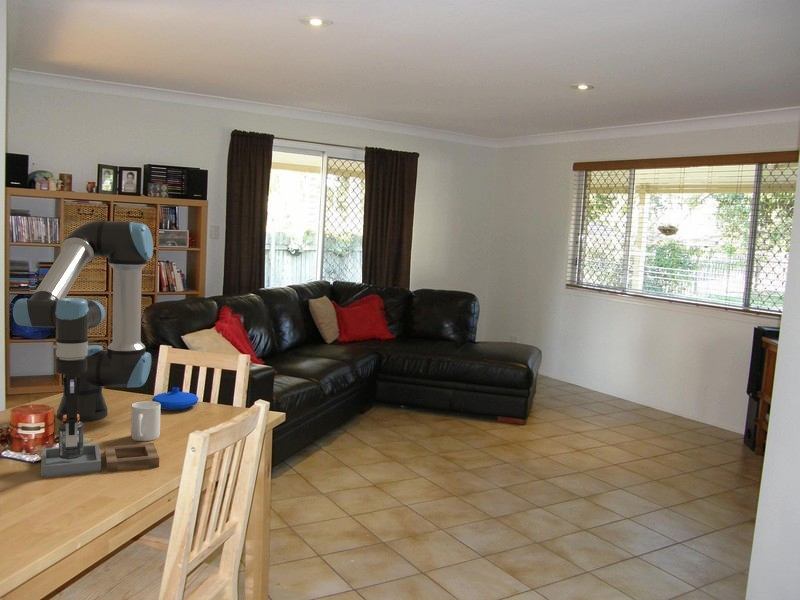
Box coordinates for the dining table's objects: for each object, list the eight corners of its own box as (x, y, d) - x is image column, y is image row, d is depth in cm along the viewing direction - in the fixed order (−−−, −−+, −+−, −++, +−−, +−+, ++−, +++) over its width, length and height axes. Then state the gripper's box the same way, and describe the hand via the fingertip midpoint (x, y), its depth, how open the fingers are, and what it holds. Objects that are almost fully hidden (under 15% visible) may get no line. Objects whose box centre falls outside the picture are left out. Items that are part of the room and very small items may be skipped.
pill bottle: (69, 451, 186) (69, 410, 185) (88, 454, 184) (88, 413, 183) (53, 458, 180) (53, 416, 179) (72, 461, 179) (72, 419, 177)
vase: (202, 402, 251) (203, 383, 250) (192, 414, 235) (193, 394, 234) (158, 400, 249) (159, 381, 248) (146, 412, 234) (146, 392, 233)
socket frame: (103, 452, 194) (103, 443, 194) (152, 447, 200) (152, 439, 199) (107, 472, 180) (107, 462, 179) (159, 466, 186) (159, 457, 185)
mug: (150, 446, 201) (151, 412, 200) (122, 445, 200) (122, 411, 199) (163, 433, 213) (164, 401, 212) (136, 432, 212) (137, 400, 211)
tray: (42, 459, 186) (42, 448, 185) (98, 454, 192) (98, 444, 192) (41, 478, 173) (40, 466, 173) (100, 471, 179) (101, 461, 179)
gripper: (56, 350, 186) (55, 432, 189) (55, 365, 169) (55, 455, 172) (86, 349, 189) (85, 430, 192) (88, 364, 172) (88, 452, 175)
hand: (71, 442), depth 182 cm, fingers closed on pill bottle, 6 cm apart
